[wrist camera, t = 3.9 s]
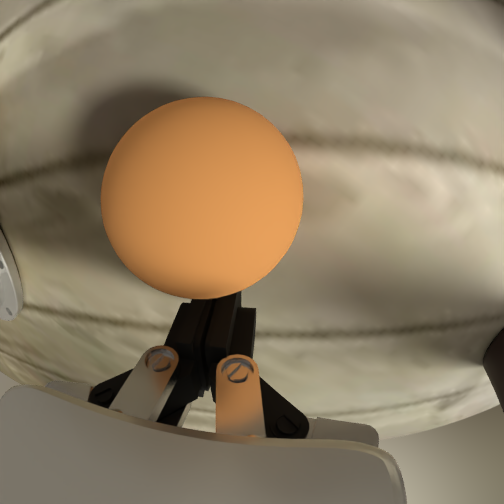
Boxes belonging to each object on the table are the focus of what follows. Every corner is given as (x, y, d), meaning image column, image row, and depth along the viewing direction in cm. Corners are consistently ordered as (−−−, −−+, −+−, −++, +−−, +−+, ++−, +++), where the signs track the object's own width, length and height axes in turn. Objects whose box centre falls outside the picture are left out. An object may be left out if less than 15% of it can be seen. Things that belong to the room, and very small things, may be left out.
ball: (162, 240, 13) (99, 331, 7) (143, 109, 10) (37, 128, 4) (294, 241, 12) (304, 348, 7) (295, 96, 9) (319, 82, 4)
